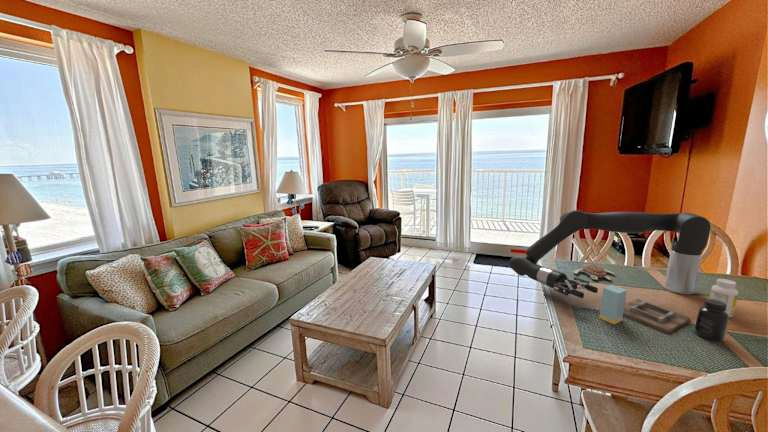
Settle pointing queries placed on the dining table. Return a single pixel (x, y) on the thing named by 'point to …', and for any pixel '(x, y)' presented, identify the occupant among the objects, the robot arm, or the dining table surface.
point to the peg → (612, 304)
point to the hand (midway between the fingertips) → (590, 293)
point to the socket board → (654, 316)
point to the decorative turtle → (594, 271)
